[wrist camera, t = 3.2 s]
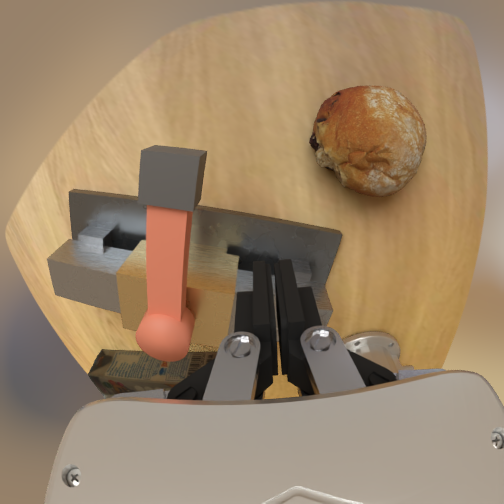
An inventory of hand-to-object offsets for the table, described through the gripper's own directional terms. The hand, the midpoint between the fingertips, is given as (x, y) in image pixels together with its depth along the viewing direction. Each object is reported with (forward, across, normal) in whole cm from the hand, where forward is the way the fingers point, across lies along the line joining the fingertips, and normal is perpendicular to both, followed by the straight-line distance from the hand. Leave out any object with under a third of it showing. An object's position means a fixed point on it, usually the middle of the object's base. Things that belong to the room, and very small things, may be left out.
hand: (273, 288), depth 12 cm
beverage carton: (+15, +16, +24) cm, 33 cm away
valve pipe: (+14, +8, +7) cm, 18 cm away
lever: (+6, +7, +1) cm, 9 cm away
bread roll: (+15, -10, -5) cm, 18 cm away
